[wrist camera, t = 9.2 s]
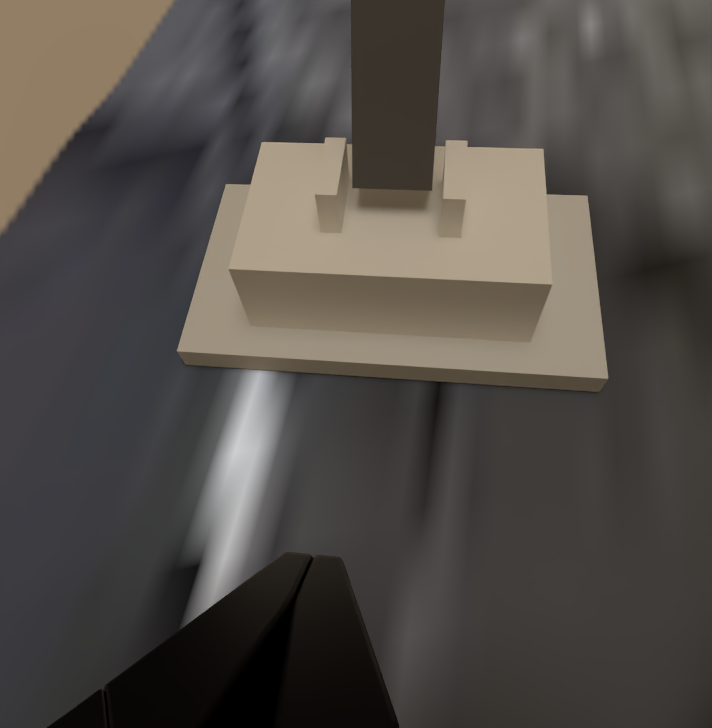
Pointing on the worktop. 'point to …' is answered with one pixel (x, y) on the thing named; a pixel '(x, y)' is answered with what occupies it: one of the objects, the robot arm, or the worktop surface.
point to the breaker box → (401, 273)
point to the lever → (395, 92)
